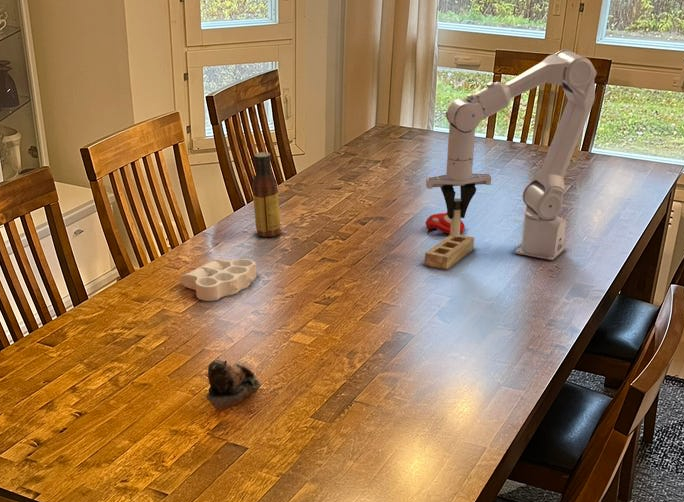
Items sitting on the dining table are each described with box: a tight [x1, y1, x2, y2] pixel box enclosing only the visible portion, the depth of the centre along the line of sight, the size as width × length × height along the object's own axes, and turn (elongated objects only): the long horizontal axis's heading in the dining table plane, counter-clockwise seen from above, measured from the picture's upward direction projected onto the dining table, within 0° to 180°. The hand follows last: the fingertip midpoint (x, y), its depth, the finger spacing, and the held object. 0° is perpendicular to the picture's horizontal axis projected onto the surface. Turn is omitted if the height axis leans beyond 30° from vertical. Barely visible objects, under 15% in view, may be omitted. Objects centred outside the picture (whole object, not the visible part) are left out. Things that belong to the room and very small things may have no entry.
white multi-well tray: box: [179, 258, 257, 302], centre depth 226 cm, size 3×18×15 cm
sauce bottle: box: [252, 151, 282, 238], centre depth 247 cm, size 7×6×20 cm
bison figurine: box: [205, 359, 262, 410], centre depth 180 cm, size 12×7×10 cm, turn 150°
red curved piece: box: [425, 212, 466, 235], centre depth 252 cm, size 12×4×10 cm
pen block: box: [424, 234, 475, 271], centre depth 237 cm, size 6×15×3 cm, turn 147°
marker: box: [449, 198, 462, 237], centre depth 230 cm, size 2×2×8 cm
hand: (456, 217), depth 230 cm, fingers closed on marker, 2 cm apart
